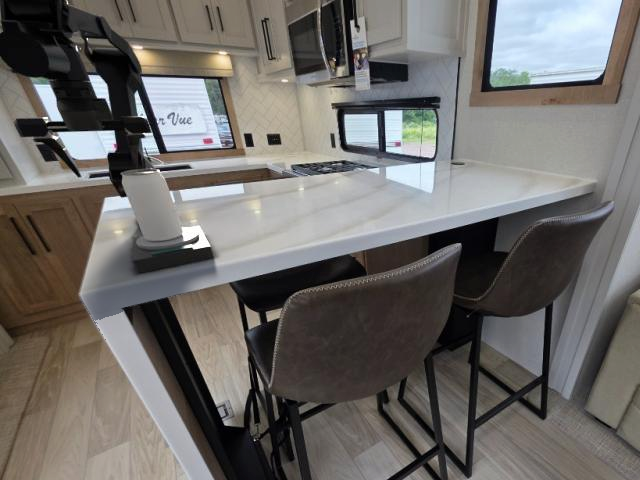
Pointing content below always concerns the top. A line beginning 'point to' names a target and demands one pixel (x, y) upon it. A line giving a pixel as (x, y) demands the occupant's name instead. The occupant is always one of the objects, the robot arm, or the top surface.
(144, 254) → the scale
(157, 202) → the can
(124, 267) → the top surface
